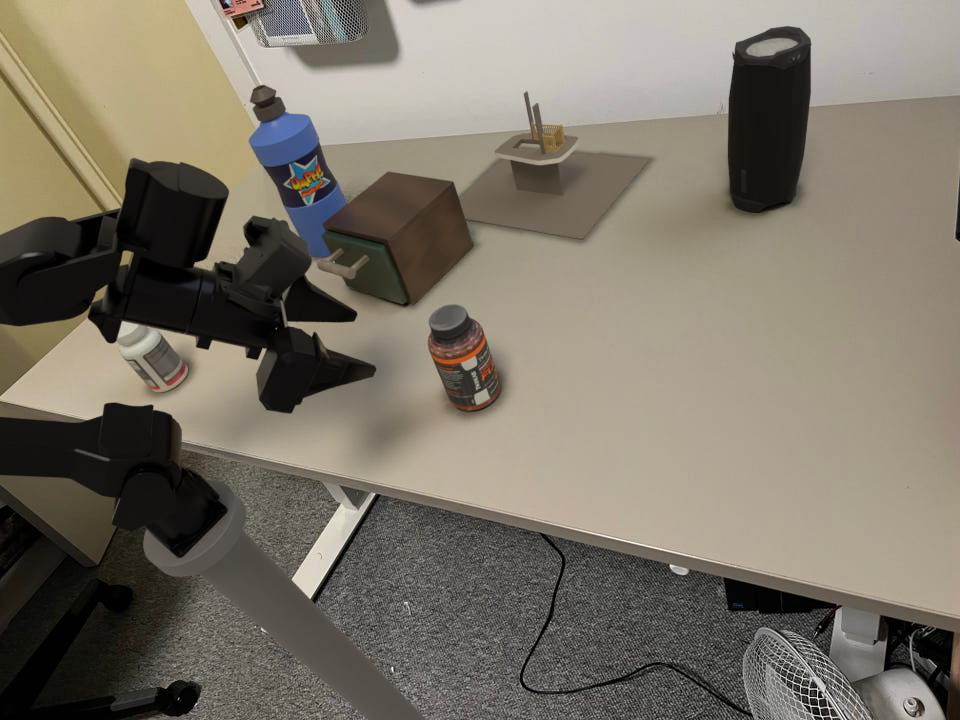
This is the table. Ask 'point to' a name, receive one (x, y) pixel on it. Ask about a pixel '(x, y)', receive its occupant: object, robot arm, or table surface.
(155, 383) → the pill bottle
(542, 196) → the architectural model
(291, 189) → the water bottle
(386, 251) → the drawer
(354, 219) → the cabinet
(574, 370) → the table surface
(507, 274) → the table surface
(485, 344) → the supplement bottle
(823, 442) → the table surface
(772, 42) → the portable speaker
